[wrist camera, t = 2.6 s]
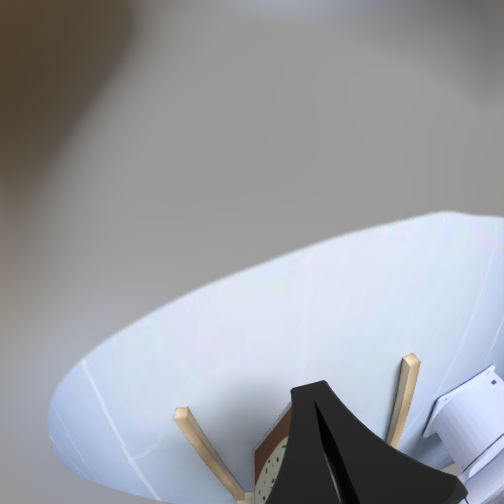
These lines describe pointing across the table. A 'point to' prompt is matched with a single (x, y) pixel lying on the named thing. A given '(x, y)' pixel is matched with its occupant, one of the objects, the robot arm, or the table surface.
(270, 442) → the food container
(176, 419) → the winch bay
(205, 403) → the table surface
